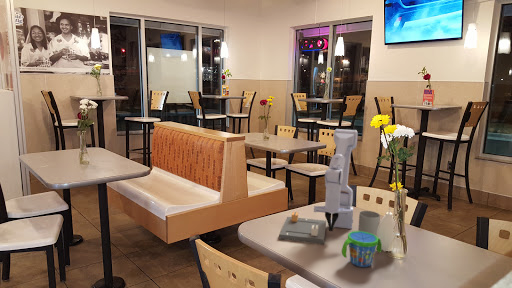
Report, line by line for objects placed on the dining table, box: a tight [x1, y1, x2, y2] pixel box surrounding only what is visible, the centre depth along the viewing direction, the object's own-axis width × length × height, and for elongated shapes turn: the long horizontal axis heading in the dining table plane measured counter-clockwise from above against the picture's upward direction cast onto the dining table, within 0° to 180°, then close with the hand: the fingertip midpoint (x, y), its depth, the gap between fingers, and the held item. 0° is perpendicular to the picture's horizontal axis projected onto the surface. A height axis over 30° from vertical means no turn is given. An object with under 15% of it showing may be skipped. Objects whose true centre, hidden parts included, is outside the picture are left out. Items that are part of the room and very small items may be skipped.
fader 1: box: [291, 211, 299, 222], centre depth 164 cm, size 2×4×3 cm, turn 166°
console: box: [279, 216, 327, 245], centre depth 157 cm, size 18×21×2 cm
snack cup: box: [341, 230, 383, 268], centre depth 129 cm, size 16×10×10 cm
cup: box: [357, 210, 381, 236], centre depth 152 cm, size 8×8×10 cm
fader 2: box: [311, 225, 318, 236], centre depth 149 cm, size 2×4×3 cm, turn 166°
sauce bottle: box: [377, 206, 396, 252], centre depth 139 cm, size 8×8×18 cm
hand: (330, 230), depth 147 cm, fingers closed
